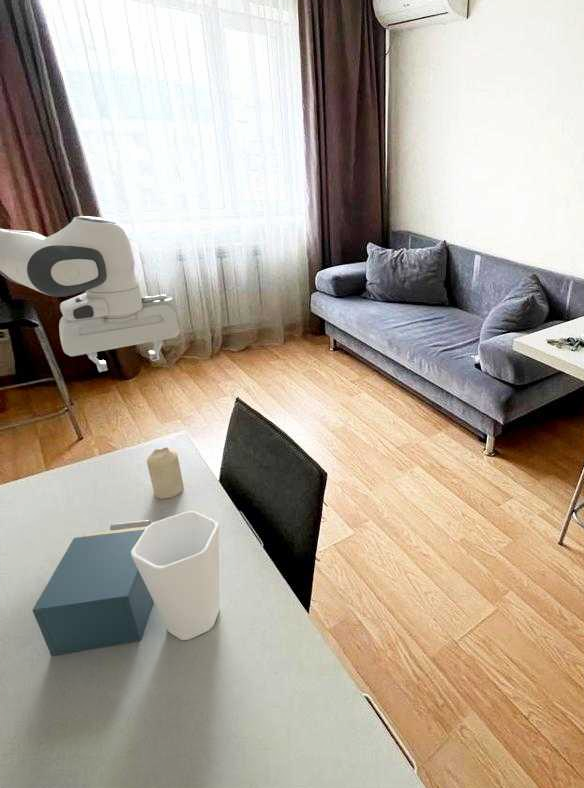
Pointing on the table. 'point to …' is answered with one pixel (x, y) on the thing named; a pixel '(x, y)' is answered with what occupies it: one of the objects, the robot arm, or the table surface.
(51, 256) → the robot arm
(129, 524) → the tray
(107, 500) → the table surface
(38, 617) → the blue-grey box
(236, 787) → the table surface
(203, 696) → the table surface
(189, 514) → the cup
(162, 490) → the candle
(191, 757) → the table surface
